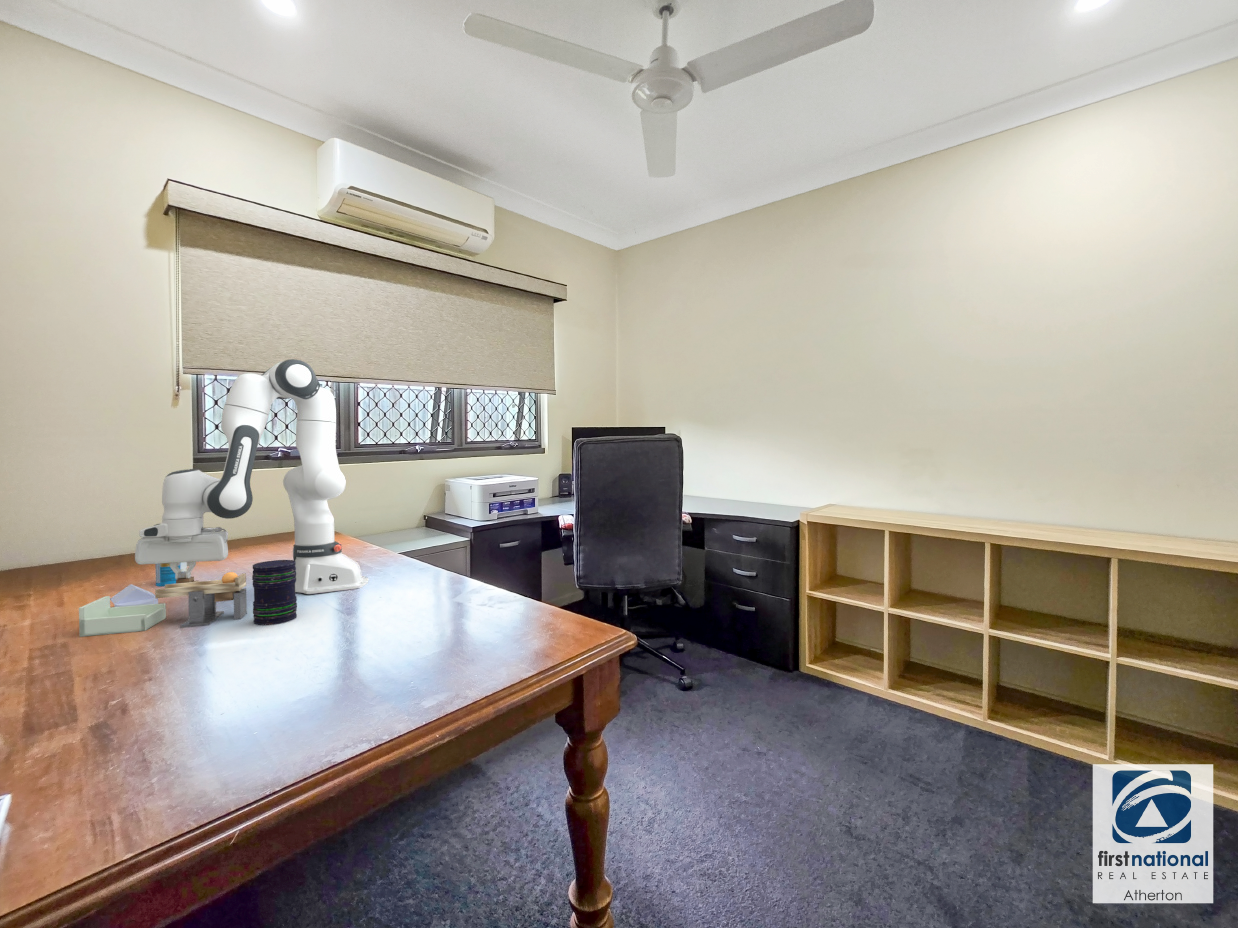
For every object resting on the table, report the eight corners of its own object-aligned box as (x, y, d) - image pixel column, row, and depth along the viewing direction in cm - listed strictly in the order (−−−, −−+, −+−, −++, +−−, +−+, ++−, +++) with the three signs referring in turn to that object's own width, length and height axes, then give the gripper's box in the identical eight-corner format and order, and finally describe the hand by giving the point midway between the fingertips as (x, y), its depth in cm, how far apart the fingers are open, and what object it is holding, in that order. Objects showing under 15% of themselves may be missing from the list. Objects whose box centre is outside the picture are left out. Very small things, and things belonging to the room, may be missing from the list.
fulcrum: (250, 610, 150) (249, 580, 150) (236, 622, 140) (236, 589, 140) (198, 615, 146) (197, 583, 146) (180, 627, 136) (179, 593, 136)
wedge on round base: (109, 610, 151) (117, 620, 142) (109, 587, 151) (116, 594, 142) (151, 603, 158) (161, 612, 149) (151, 581, 157) (161, 588, 149)
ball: (240, 583, 146) (240, 570, 146) (235, 586, 143) (235, 573, 143) (224, 584, 145) (224, 571, 145) (219, 587, 142) (219, 574, 142)
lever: (256, 586, 156) (255, 566, 156) (239, 599, 142) (238, 577, 142) (181, 593, 151) (180, 572, 150) (155, 607, 136) (154, 585, 136)
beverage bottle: (148, 588, 176) (147, 527, 175) (176, 582, 184) (175, 524, 183) (167, 590, 173) (165, 528, 173) (194, 584, 181) (193, 524, 181)
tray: (165, 617, 144) (165, 591, 144) (145, 630, 134) (144, 602, 134) (105, 623, 140) (105, 596, 140) (79, 636, 130) (78, 607, 129)
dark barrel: (275, 626, 137) (274, 568, 136) (243, 624, 139) (242, 566, 138) (306, 614, 146) (305, 560, 146) (275, 612, 148) (274, 559, 148)
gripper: (231, 525, 154) (231, 573, 154) (143, 528, 148) (143, 578, 148) (223, 528, 148) (223, 578, 148) (131, 531, 142) (131, 583, 142)
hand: (183, 578), depth 148 cm, fingers closed, pressing on lever
